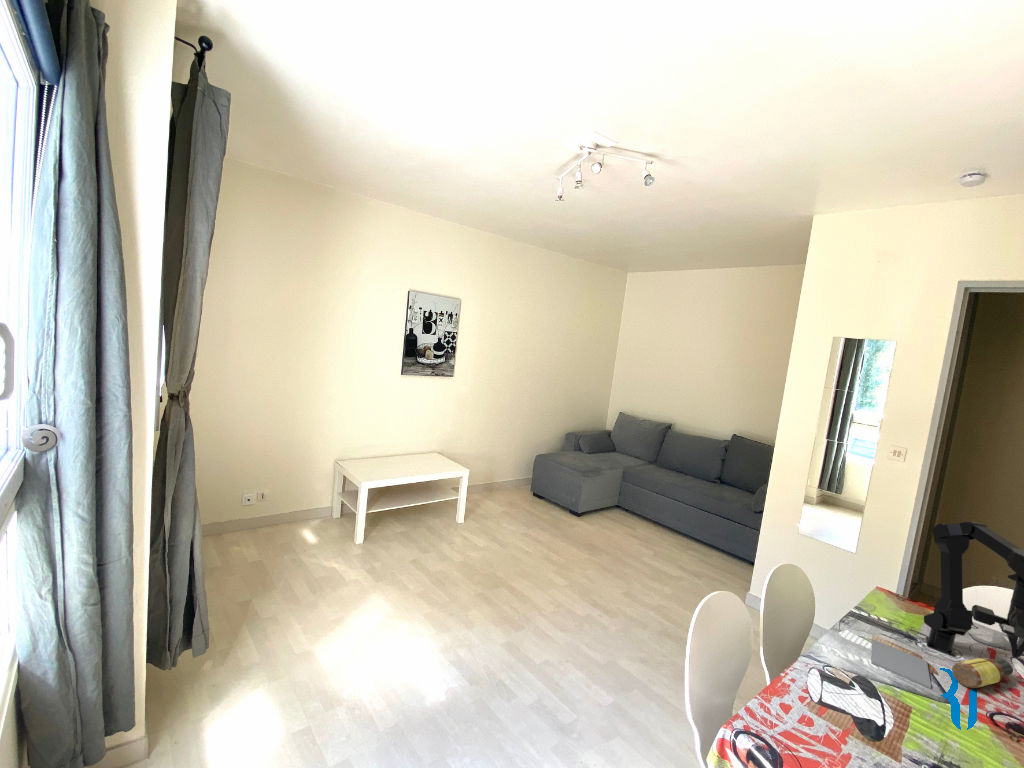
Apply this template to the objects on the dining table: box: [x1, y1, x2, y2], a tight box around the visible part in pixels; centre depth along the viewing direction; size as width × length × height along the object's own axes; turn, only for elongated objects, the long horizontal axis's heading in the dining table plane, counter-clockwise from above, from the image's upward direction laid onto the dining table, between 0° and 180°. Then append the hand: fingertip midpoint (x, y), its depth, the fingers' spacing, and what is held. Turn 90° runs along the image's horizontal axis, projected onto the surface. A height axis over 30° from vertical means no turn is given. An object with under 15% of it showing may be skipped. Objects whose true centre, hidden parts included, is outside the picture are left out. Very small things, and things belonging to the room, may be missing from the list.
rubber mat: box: [870, 638, 932, 690], centre depth 134 cm, size 15×13×1 cm
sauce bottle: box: [951, 657, 1014, 689], centre depth 130 cm, size 7×6×20 cm
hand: (1014, 657), depth 123 cm, fingers closed
